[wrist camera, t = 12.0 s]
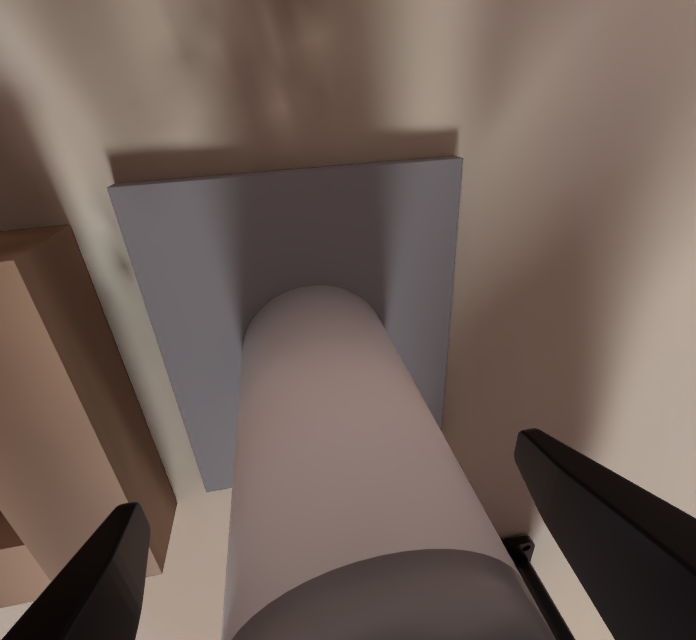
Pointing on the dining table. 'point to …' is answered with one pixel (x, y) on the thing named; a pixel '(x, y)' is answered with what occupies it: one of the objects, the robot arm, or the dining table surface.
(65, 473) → the socket block
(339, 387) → the cylinder
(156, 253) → the mat
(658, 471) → the dining table surface
